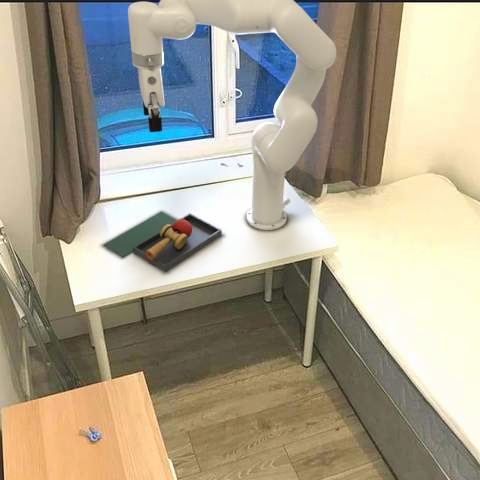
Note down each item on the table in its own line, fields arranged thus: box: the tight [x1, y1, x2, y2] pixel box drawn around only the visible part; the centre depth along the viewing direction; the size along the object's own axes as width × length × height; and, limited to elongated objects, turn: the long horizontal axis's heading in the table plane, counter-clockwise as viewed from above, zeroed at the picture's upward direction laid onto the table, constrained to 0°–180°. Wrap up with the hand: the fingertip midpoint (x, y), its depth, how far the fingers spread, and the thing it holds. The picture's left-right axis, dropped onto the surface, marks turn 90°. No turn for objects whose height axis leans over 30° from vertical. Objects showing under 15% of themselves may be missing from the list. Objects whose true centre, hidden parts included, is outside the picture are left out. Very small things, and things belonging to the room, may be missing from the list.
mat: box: [103, 211, 178, 258], centre depth 180 cm, size 23×8×1 cm, turn 142°
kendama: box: [145, 218, 192, 260], centre depth 172 cm, size 8×6×18 cm
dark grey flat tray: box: [132, 212, 223, 273], centre depth 176 cm, size 23×13×2 cm, turn 142°
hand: (152, 122), depth 157 cm, fingers open, 9 cm apart
